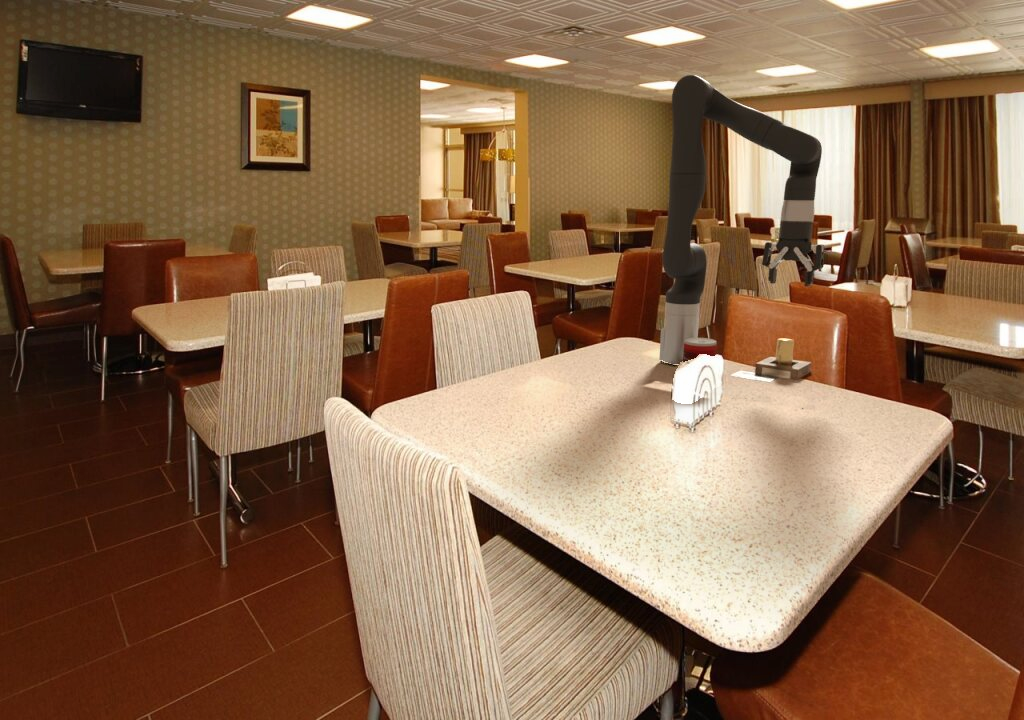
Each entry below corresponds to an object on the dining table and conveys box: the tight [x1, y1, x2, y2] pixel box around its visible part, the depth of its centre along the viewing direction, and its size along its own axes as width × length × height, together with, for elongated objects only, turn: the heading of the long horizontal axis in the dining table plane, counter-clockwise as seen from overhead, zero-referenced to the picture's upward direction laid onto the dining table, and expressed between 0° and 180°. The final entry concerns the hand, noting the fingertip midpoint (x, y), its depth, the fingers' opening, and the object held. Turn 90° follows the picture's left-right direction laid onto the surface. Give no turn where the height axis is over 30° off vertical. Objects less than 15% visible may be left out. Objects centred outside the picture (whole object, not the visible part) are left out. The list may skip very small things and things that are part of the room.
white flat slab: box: [729, 370, 780, 383], centre depth 169 cm, size 10×7×2 cm
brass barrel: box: [775, 337, 795, 366], centre depth 172 cm, size 4×4×10 cm
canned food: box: [683, 337, 718, 362], centre depth 166 cm, size 8×8×11 cm
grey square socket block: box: [754, 356, 812, 381], centre depth 173 cm, size 10×11×4 cm
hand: (789, 284), depth 170 cm, fingers open, 8 cm apart
